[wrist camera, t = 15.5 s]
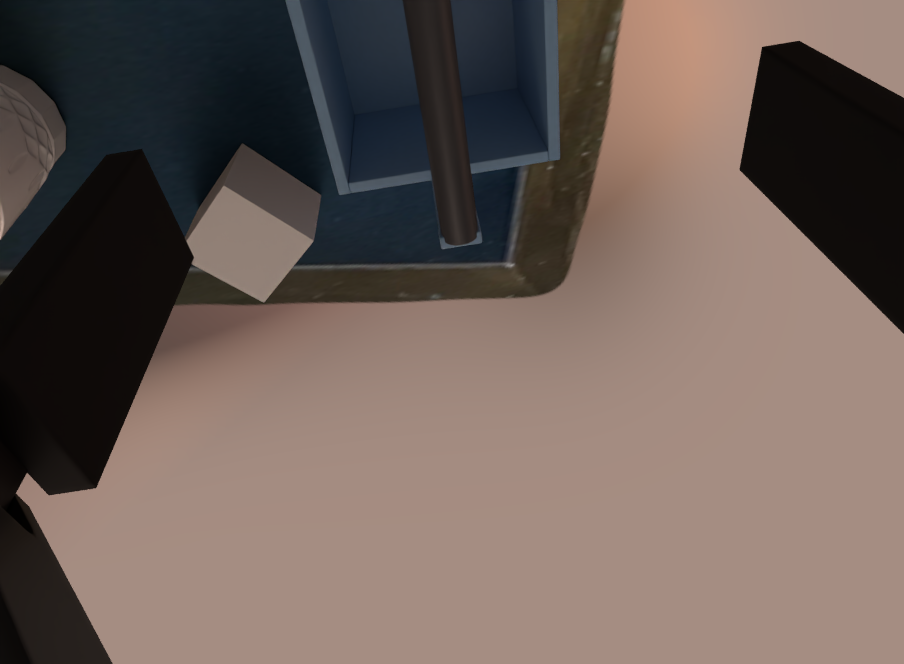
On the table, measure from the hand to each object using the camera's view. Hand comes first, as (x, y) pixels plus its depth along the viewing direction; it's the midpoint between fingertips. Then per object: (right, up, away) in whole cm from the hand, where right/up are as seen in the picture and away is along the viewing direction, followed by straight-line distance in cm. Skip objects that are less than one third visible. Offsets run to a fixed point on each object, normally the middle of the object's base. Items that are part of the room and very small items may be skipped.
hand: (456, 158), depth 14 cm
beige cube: (-13, +5, +29) cm, 32 cm away
